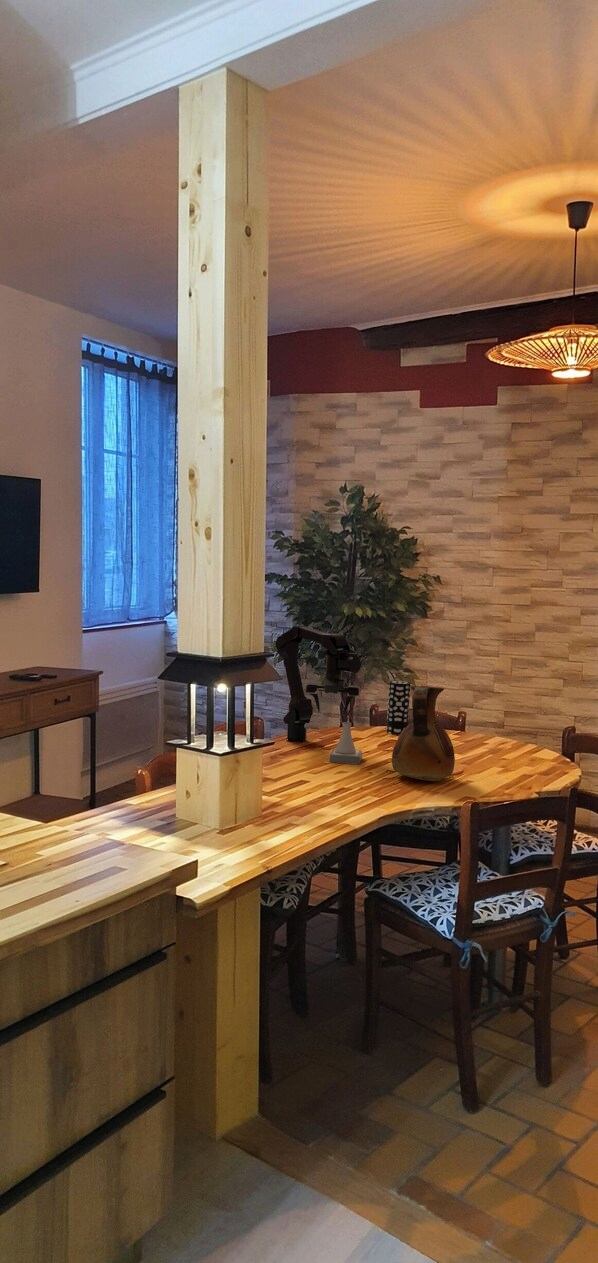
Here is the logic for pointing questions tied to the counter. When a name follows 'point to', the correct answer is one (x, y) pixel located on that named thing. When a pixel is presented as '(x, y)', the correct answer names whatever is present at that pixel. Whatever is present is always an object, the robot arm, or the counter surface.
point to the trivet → (346, 757)
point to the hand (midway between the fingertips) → (332, 713)
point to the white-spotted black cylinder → (398, 706)
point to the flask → (346, 740)
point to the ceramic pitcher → (424, 741)
